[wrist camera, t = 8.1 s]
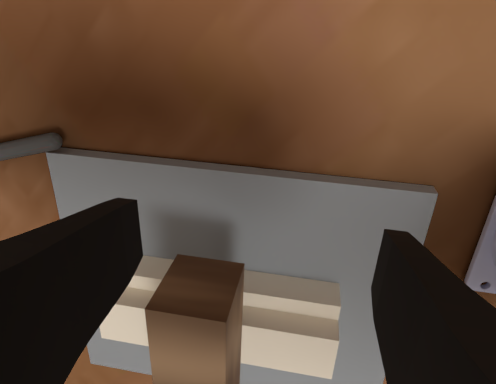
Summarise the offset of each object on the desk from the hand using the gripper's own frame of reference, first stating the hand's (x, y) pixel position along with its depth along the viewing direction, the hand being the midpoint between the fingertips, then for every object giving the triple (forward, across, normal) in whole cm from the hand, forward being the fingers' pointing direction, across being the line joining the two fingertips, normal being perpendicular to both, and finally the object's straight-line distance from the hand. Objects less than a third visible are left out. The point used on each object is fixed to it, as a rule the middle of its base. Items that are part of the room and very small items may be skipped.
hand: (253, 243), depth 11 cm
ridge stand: (+10, +3, +11) cm, 15 cm away
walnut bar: (+6, +3, +11) cm, 13 cm away
